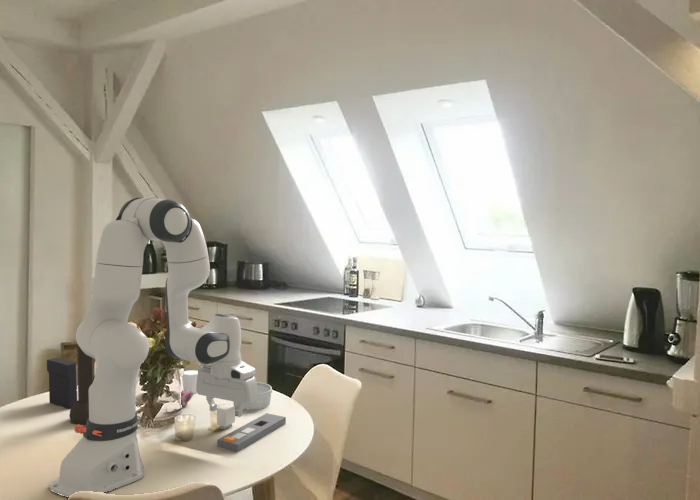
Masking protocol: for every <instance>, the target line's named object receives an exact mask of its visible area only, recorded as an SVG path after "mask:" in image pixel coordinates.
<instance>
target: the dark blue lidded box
mask: <svg viewBox="0 0 700 500" xmlns="http://www.w3.org/2000/svg"><path fill="white" fill-rule="evenodd" d="M46 371H47V373H48V388H49V389H48V391H49V393H48V395H49V400H48V401H49V403H50V404H51V405H55V406H57V407H61V408H63V409H67V410H70V409H71V408H72V406H73V405H74V403H75V402H77V401H78V375H77V362H74V361H71V360H67V359H64V358H61V357H60V358H59V357H54V358H50V359H46Z"/></svg>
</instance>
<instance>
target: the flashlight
mask: <svg viewBox="0 0 700 500" xmlns="http://www.w3.org/2000/svg"><path fill="white" fill-rule="evenodd" d="M76 346H77V348H76V349H77V351H76V353H77V354H76V355H77V397H78V401H77V402H75V403H74V405H73V406H72V408H71V409H69V419H70V424H72V425H74V426H76V425H78V424H80V425H82V426H83V425H84V426H86V423H87V420H88V418H89V387H90V386H91V384H92V383H93V381H94V377H95V359H94V358H92V357H90V356H88V355H86V354H85V353H84V352H83V351H82V349H81V348H80V347H79V345H78V344H76Z"/></svg>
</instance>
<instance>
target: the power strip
mask: <svg viewBox="0 0 700 500" xmlns="http://www.w3.org/2000/svg"><path fill="white" fill-rule="evenodd" d="M286 418H287V416H282V415H276V414H271V413H263V415H260V416H259V417H257V418H255V419H253V420H250V421H249V422H247V423H245V424H244V425H242V426H240V427H239V428H236V429H234V430H233V431H231V432H229V433H227V434H225V435H224V436H222V437H220V438H218V439H217V440H216V447H217V448H220V449H224V450H229V451H233V452H237V453H238V452H240V451H242V450H244V449H246V448H248V447H249V446H250V445H252V444H254V443H256V442H257V441H259V440H261V439H262V438H265V437H266V436H267V435H269V434H270V433H272V432H275V431H276V430H277V429H280V427H282V426H284V425H286V423H287V421H286Z"/></svg>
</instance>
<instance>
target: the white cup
mask: <svg viewBox="0 0 700 500" xmlns="http://www.w3.org/2000/svg"><path fill="white" fill-rule="evenodd" d="M182 372H183V376H182V375H181V379H182V380H181V381H182V390H183V391H187V390H188V391H191V392H192V393H194V394H198V393H197V391H196V383H197V376H198V369H190V370H185V371H182ZM183 391H182V392H183Z"/></svg>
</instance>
